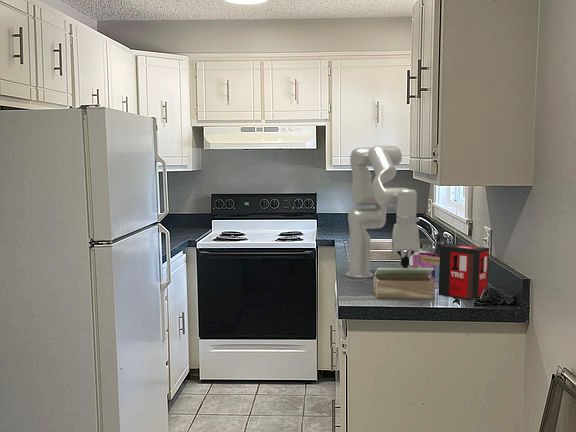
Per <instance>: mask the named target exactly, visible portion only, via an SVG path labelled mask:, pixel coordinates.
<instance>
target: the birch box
mask: <svg viewBox="0 0 576 432" xmlns="http://www.w3.org/2000/svg"><path fill="white" fill-rule="evenodd" d="M434 289H435V288H434V281H433V280H432V279H430V278H429V277H428V276H374V275H373V289H372V291H373V295H374V297H376V299H377V300H378V299H379V300H380V299H381V300H385V299H386V300H390V299H391V300H414V299H415V300H433V299H434V295H435V294H434V292H435V291H434Z"/></svg>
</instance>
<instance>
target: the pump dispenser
mask: <svg viewBox="0 0 576 432" xmlns="http://www.w3.org/2000/svg"><path fill="white" fill-rule="evenodd" d="M447 244H449V243H448V242H447V240H442V239H441V240H439V241H438V242H436V243H435V247H434V250H433V253H432V254H440V246H442V245H447Z"/></svg>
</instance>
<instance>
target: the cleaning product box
mask: <svg viewBox="0 0 576 432" xmlns="http://www.w3.org/2000/svg"><path fill="white" fill-rule="evenodd" d="M489 261H490V247H483V246H477V245H475V246H474V245H468V244H467V245H465V244H464V245H463V244H456V243H448V244H447V245H442V246H440V264H439V289H438V296H442V297H449V298H453V299H460V300H466V301H470V300H474V298H475V297H478V296H481V294H482V292H483V290H484V289H486V288H488V287H489V285H488V284H489V263H490V262H489Z"/></svg>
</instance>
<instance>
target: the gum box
mask: <svg viewBox="0 0 576 432" xmlns="http://www.w3.org/2000/svg"><path fill="white" fill-rule="evenodd" d="M439 264H440V254H433V253H430V252H425V253H423V252H419V253H418V255H415V254H413V266H412V268H433V271H432V272H431V273H430V274H429V275H428V277H429V278H430V279H432V280H433V281H434V289H436V290H437V289H438V290H439Z"/></svg>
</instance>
